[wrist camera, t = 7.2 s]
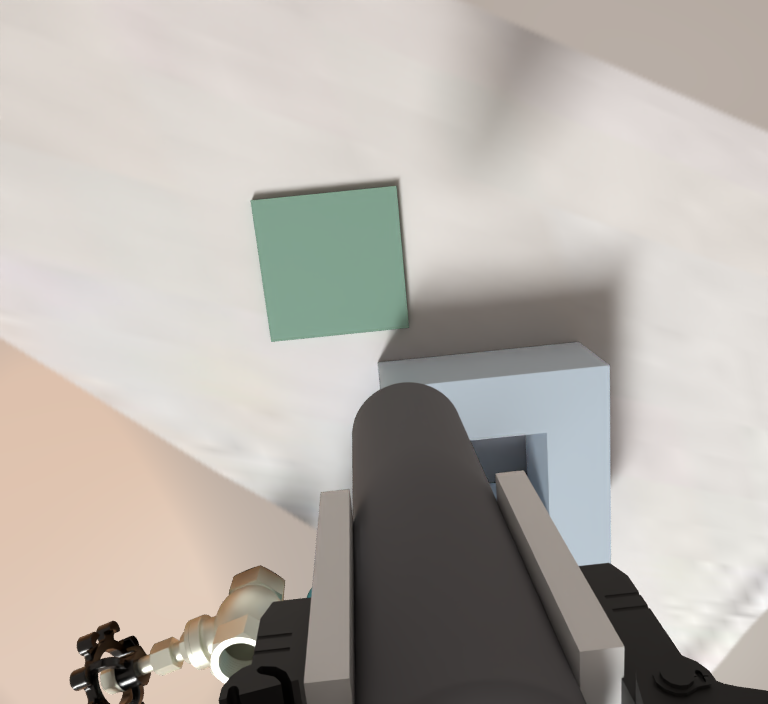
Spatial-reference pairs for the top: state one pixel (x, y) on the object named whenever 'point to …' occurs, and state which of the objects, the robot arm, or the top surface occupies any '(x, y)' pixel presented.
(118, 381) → the top surface
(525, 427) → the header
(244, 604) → the valve
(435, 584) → the plug
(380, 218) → the pad
